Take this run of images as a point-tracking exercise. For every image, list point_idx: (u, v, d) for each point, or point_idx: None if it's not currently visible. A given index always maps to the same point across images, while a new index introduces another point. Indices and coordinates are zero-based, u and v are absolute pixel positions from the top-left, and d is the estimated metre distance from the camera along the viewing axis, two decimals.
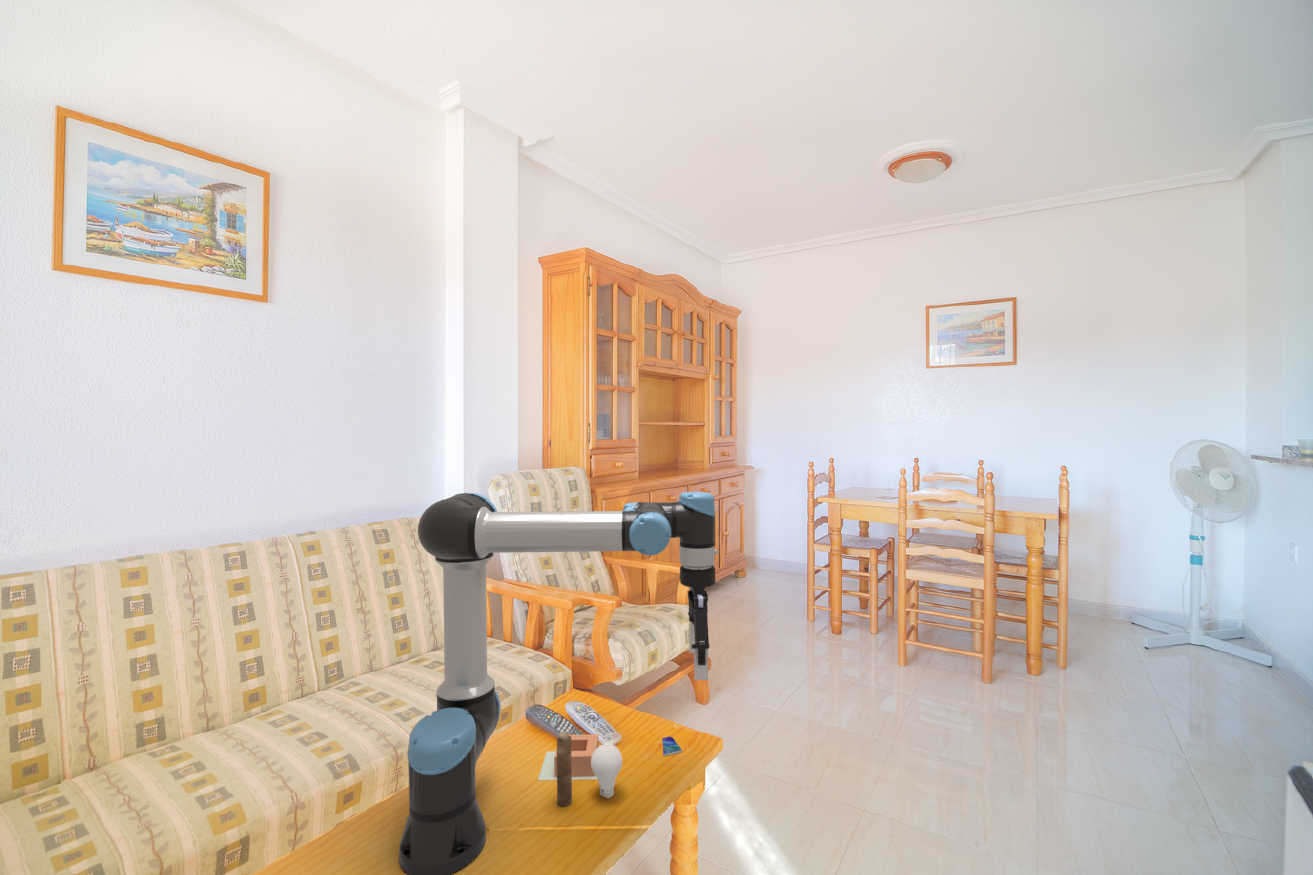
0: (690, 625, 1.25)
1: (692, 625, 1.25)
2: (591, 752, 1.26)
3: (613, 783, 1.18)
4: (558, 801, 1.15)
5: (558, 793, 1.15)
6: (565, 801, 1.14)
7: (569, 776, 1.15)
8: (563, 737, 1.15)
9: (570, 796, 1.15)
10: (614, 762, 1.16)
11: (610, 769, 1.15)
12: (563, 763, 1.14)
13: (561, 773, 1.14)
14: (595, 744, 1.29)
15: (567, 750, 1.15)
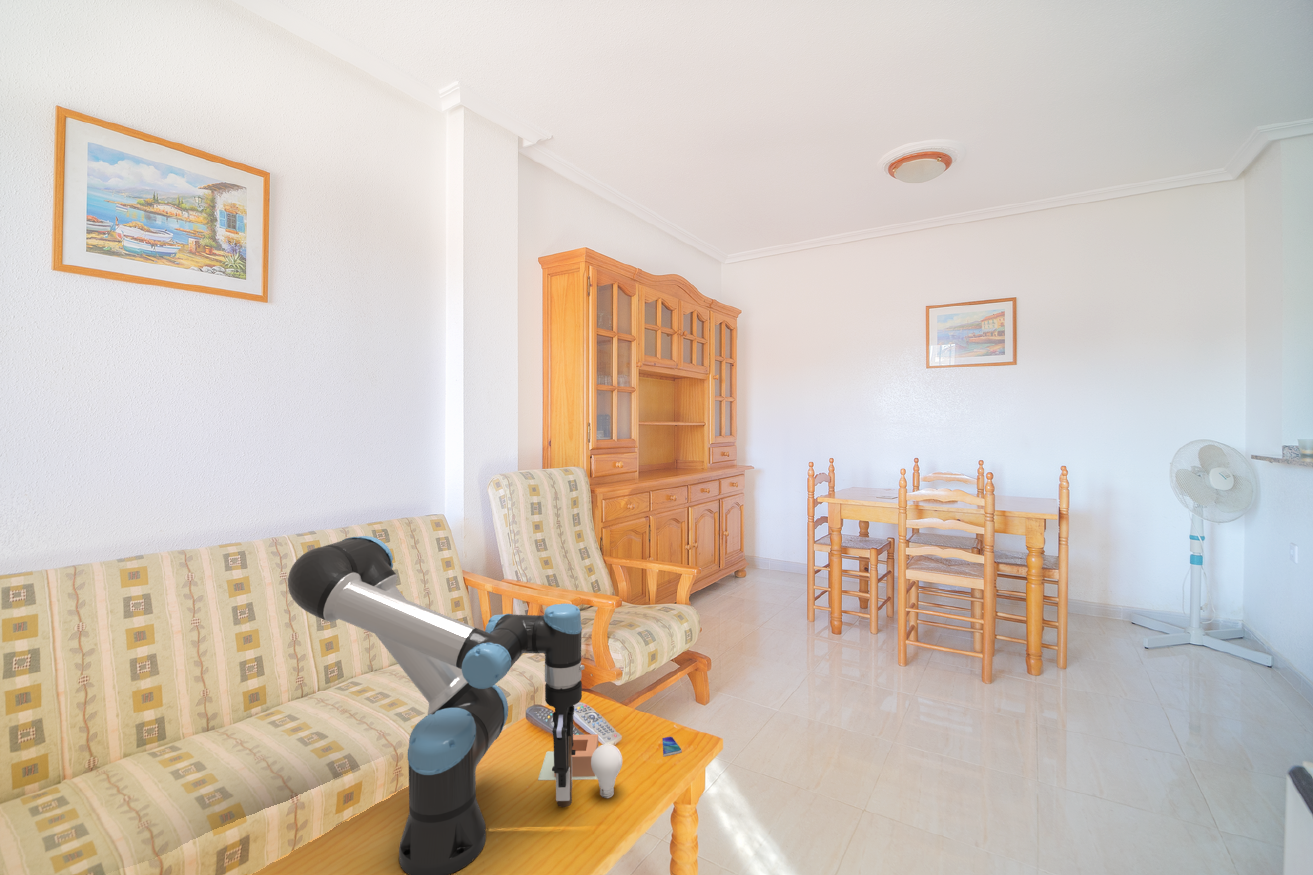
0: None
1: None
2: (591, 752, 1.26)
3: (613, 783, 1.18)
4: (558, 801, 1.15)
5: None
6: (565, 801, 1.14)
7: None
8: None
9: (570, 796, 1.15)
10: (615, 762, 1.16)
11: (610, 769, 1.15)
12: None
13: None
14: (595, 744, 1.29)
15: None
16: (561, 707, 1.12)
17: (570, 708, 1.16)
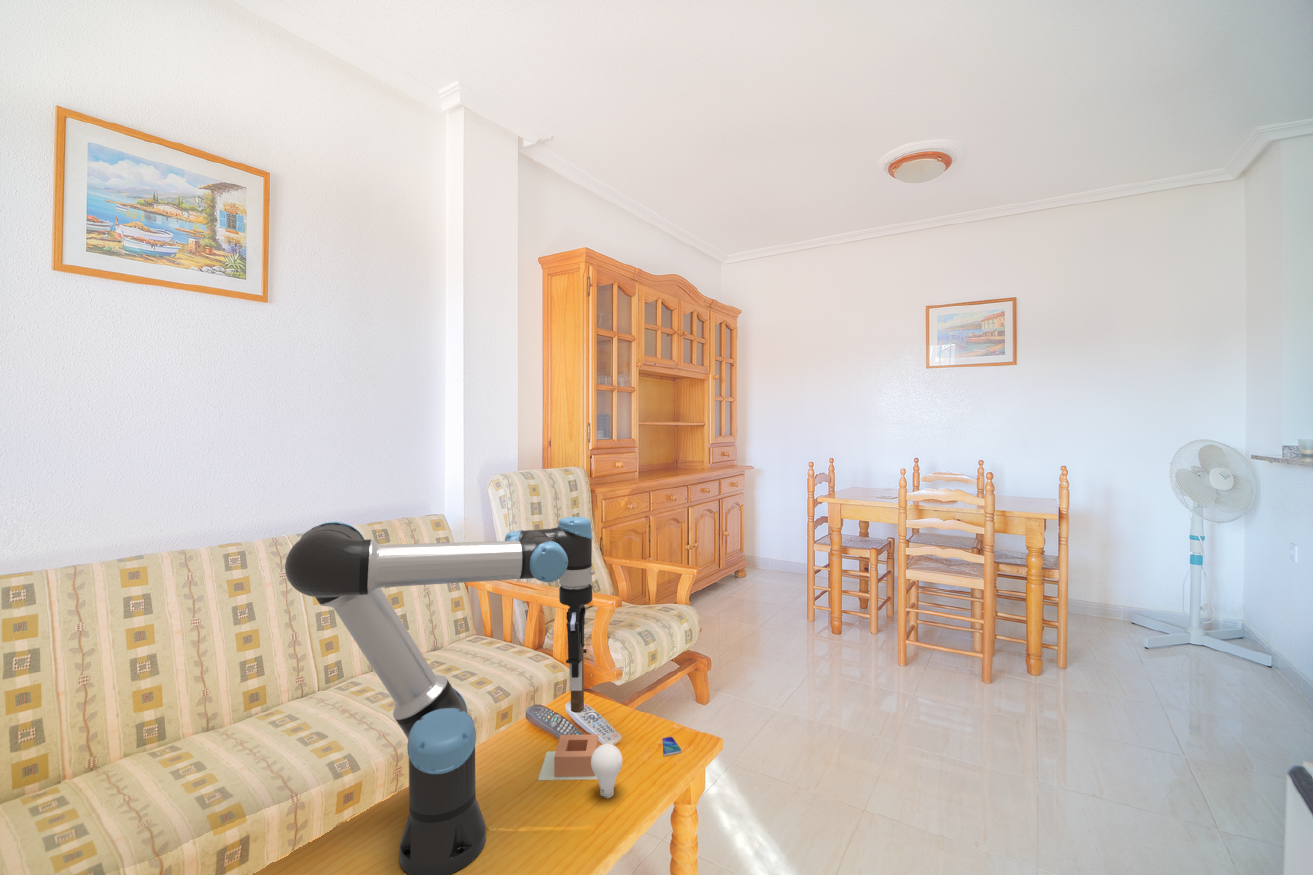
0: None
1: None
2: (591, 752, 1.26)
3: (613, 783, 1.18)
4: (572, 704, 1.28)
5: (572, 697, 1.28)
6: (578, 704, 1.27)
7: None
8: None
9: (583, 700, 1.28)
10: (615, 762, 1.16)
11: (610, 769, 1.15)
12: None
13: None
14: (595, 744, 1.29)
15: None
16: (574, 605, 1.25)
17: (582, 609, 1.29)
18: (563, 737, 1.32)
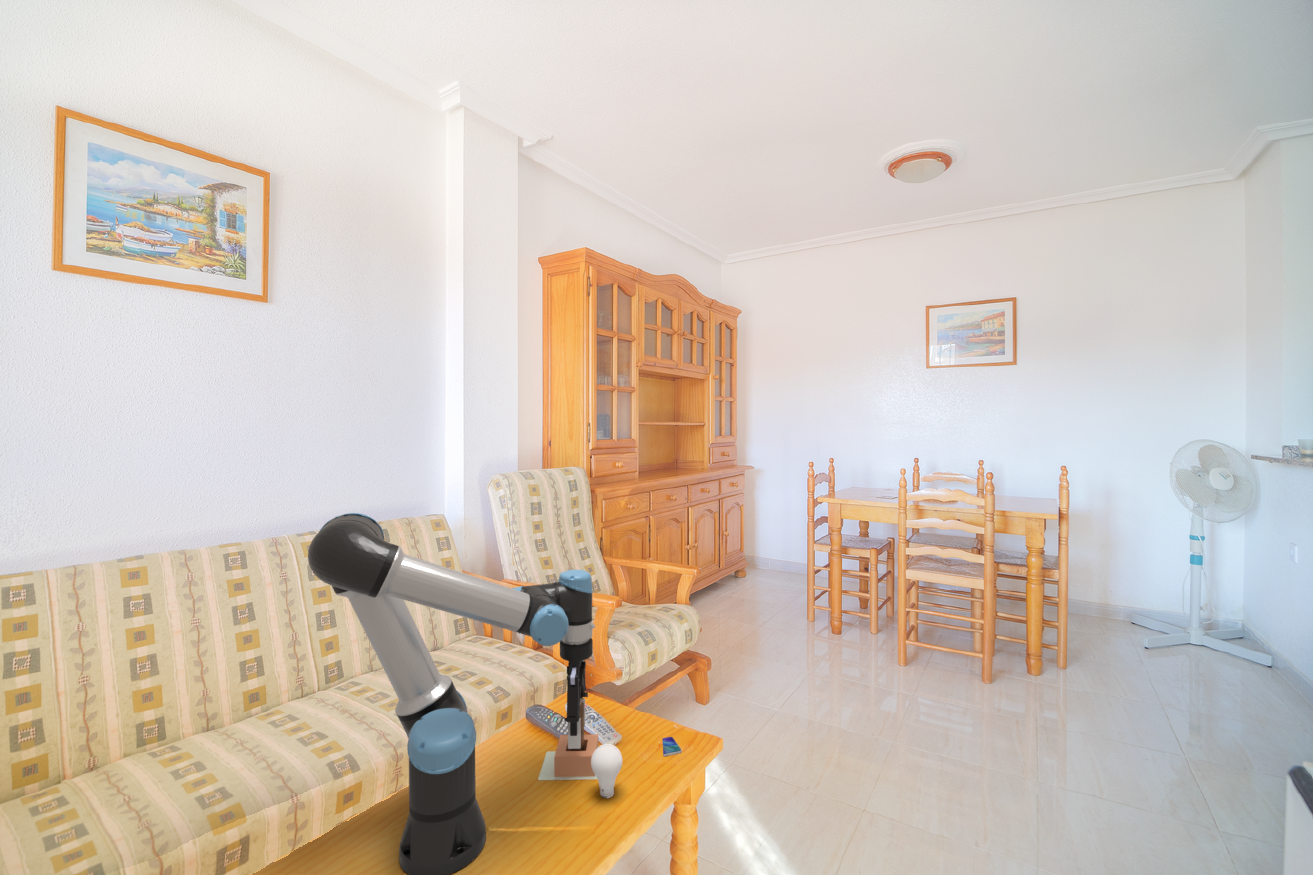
0: None
1: None
2: (591, 752, 1.26)
3: (613, 783, 1.18)
4: None
5: None
6: None
7: (582, 737, 1.28)
8: None
9: None
10: (615, 762, 1.16)
11: (610, 769, 1.15)
12: None
13: None
14: (595, 744, 1.29)
15: (580, 714, 1.28)
16: None
17: (582, 664, 1.29)
18: (563, 737, 1.32)
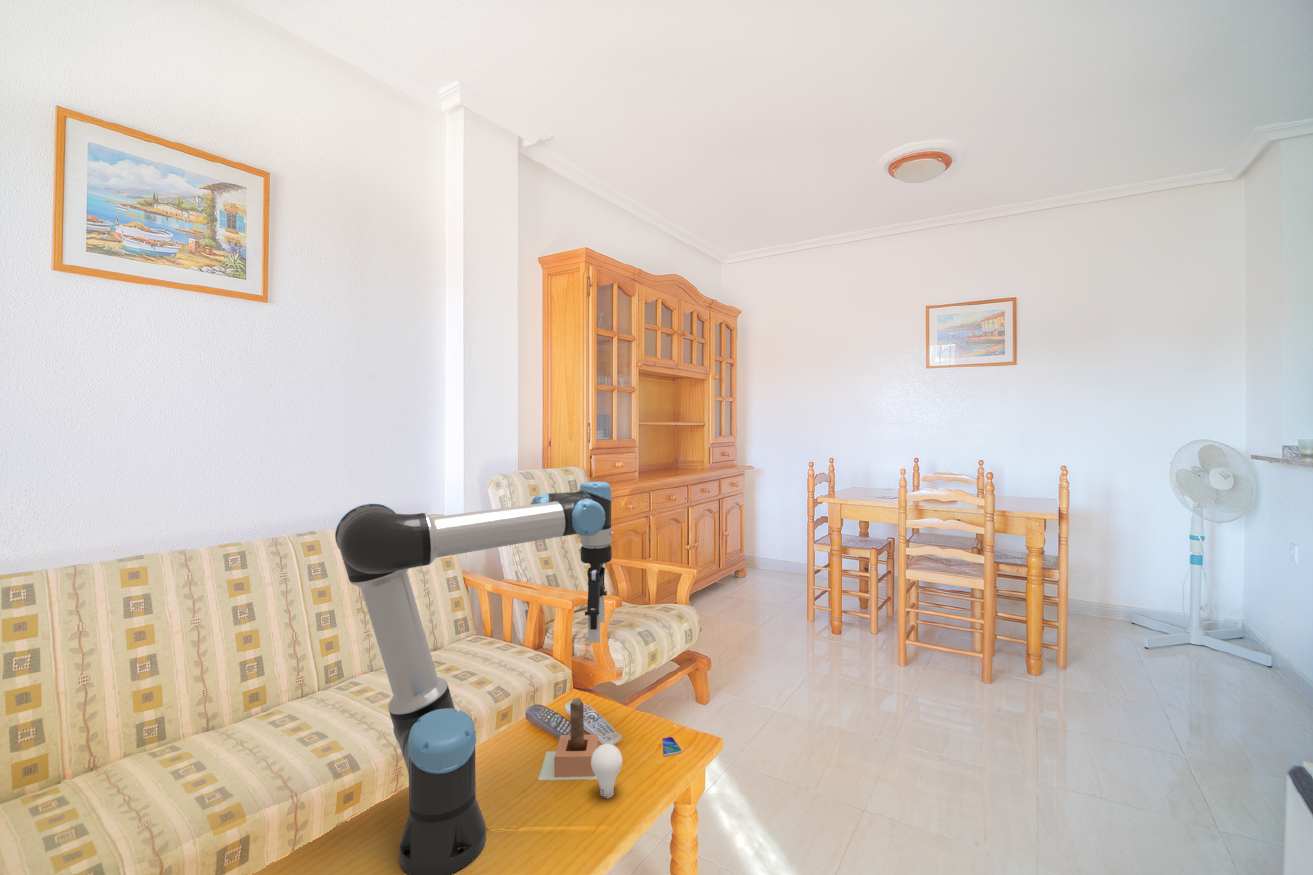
0: None
1: None
2: (591, 752, 1.26)
3: (613, 783, 1.18)
4: None
5: None
6: None
7: (581, 737, 1.28)
8: (576, 702, 1.28)
9: None
10: (615, 762, 1.16)
11: (610, 769, 1.15)
12: (576, 726, 1.27)
13: (575, 735, 1.27)
14: (595, 744, 1.29)
15: (580, 714, 1.28)
16: None
17: (601, 570, 1.37)
18: (563, 737, 1.32)
